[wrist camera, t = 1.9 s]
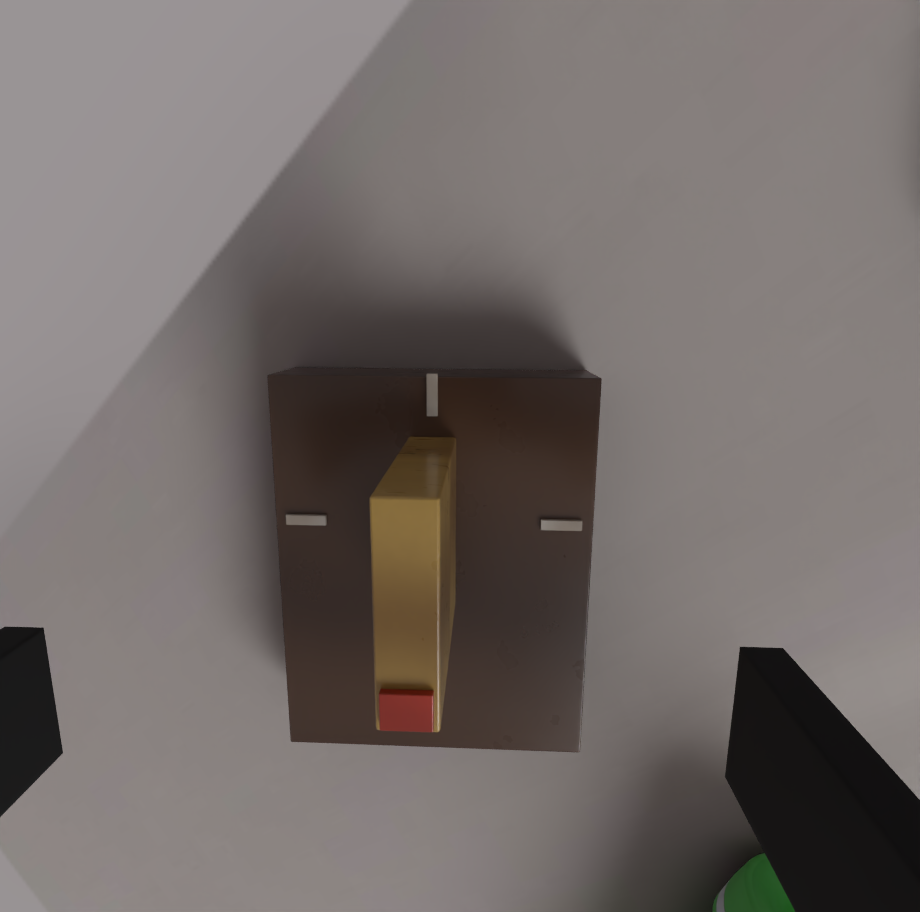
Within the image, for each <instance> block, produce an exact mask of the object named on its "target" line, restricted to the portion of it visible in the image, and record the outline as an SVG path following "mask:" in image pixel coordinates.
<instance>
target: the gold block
mask: <svg viewBox="0 0 920 912" xmlns="http://www.w3.org/2000/svg"><path fill="white" fill-rule="evenodd" d="M369 504H370V539H371V575H372V611H373V646H374V682H375V718H376V729H377V730H381V731H408V732H439V731H440V729H441V721H442V713H443V704H444V696H445V687H446V678H447V670H448V661H449V653H450V644H451V636H452V627H453V618H454V610H455V591H456V438H454V437H409V438H408V440H407V441H406V443H405V444H404V446H403V447H402V449H401V450H400V452H399V453H398V455H397V456H396V458H395V460H394V461H393V463H392V464H391V466H390V467H389V469H388V470H387V472H386V473H385V475H384V476H383V478H382V479H381V481H380V482H379V484H378V485H377V487H376V488H375V490H374V492H373V493H372V495H371V496H370V498H369Z"/></svg>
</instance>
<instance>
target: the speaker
mask: <svg viewBox="0 0 920 912" xmlns="http://www.w3.org/2000/svg"><path fill="white" fill-rule="evenodd" d="M712 912H795V910H794V908H793V906H792V905H791V903H790V901H789V899H788V897H787V895H786V893H785V891H784V889H783V887H782V885H781V883H780V881H779V880H778V878H777V876H776V874H775V872H774V870H773V868H772V866H771V864H770V862H769V860H768V858H767V856H766V855H765V853H763V854H760V855H757V856H755V857H753V858H752V859H750V860H749V861H748V862H747V863H746V864H745V865H744V866H743V867H741V868H740V869H739V870H738V871H737V872H736V873H735V874H734V875H733V876H732V878H731V879H730V880H729V881H728V882H727V883H726V885H725V886H724V887H723V889H722V890H721V891H720V892H719V893H718V894H717V896H716V898H715V900H714V903H713V910H712Z"/></svg>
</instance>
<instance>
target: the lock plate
mask: <svg viewBox="0 0 920 912" xmlns="http://www.w3.org/2000/svg"><path fill="white" fill-rule="evenodd" d="M268 392H269V407H270V423H271V439H272V454H273V470H274V486H275V501H276V517H277V533H278V548H279V564H280V580H281V595H282V611H283V627H284V642H285V658H286V674H287V689H288V705H289V721H290V736H291V742H314V743H341V744H368V745H395V746H422V747H449V748H476V749H503V750H530V751H557V752H580V743H581V725H582V708H583V691H584V674H585V656H586V639H587V622H588V604H589V587H590V570H591V552H592V535H593V518H594V501H595V483H596V466H597V449H598V431H599V414H600V397H601V378H599V377H598V376H596V375H594V374H592V373H590V372H589V371H587V370H514V369H416V368H318V367H295V368H291V369H287V370H284V371H280V372H276V373H272V374H269V375H268ZM409 437H454V438H456V591H455V610H454V618H453V627H452V636H451V644H450V653H449V661H448V670H447V678H446V687H445V696H444V704H443V713H442V721H441V729H440V731H439V732H408V731H381V730H377V729H376V718H375V682H374V646H373V611H372V575H371V539H370V504H369V498H370V496H371V495H372V493H373V492H374V490H375V488H376V487H377V485H378V484H379V482H380V481H381V479H382V478H383V476H384V475H385V473H386V472H387V470H388V469H389V467H390V466H391V464H392V463H393V461H394V460H395V458H396V456H397V455H398V453H399V452H400V450H401V449H402V447H403V446H404V444H405V443H406V441H407V440H408V438H409Z"/></svg>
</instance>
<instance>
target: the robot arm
mask: <svg viewBox="0 0 920 912" xmlns="http://www.w3.org/2000/svg"><path fill="white" fill-rule="evenodd" d="M62 753H63V751H62V744H61V738H60V731H59V725H58V718H57V712H56V705H55V699H54V693H53V686H52V680H51V673H50V667H49V660H48V654H47V647H46V641H45V634H44V628H33V627H4V628H2V629H0V817H1V816H2V815H3V814H4V813H5V812H6V810H7V809H8V808H9V807H10V806H11V805H12V804H13V803H14V802H15V801H16V800H17V799H18V798H19V797H20V796H21V795H22V794H23V793H24V792H25V791H26V790H27V789H28V788H29V787H30V786H31V785H32V784H33V783H34V782H35V781H36V780H37V779H38V778H39V777H40V776H41V775H42V774H43V773H44V772H45V771H46V770H47V769H48V768H49V767H50V766H51V765H52V764H53V763H54V762H55V760H56V759H57V758H58V757H59V756H60V755H61V754H62ZM725 778H726V780H727V782H728V784H729V785H730V787H731V789H732V791H733V793H734V795H735V797H736V799H737V801H738V803H739V805H740V807H741V808H742V810H743V812H744V814H745V816H746V818H747V820H748V822H749V824H750V826H751V828H752V830H753V832H754V833H755V835H756V837H757V839H758V841H759V843H760V845H761V847H762V849H763V851H764V853H765V855H766V856H767V858H768V860H769V862H770V864H771V866H772V868H773V870H774V872H775V874H776V876H777V878H778V880H779V881H780V883H781V885H782V887H783V889H784V891H785V893H786V895H787V897H788V899H789V901H790V903H791V905H792V906H793V908H794V910H795V912H920V800H919V799H918V798H917V796H916V795H915V794H914V793H913V792H912V791H911V790H910V789H909V788H908V786H907V785H906V784H905V783H904V782H903V781H902V780H901V779H900V778H899V776H898V775H897V774H896V773H895V772H894V771H893V770H892V769H891V768H890V766H889V765H888V764H887V763H886V762H885V761H884V760H883V759H882V758H881V756H880V755H879V754H878V753H877V752H876V751H875V750H874V749H873V748H872V747H871V745H870V744H869V743H868V742H867V741H866V740H865V739H864V738H863V737H862V735H861V734H860V733H859V732H858V731H857V730H856V729H855V728H854V727H853V725H852V724H851V723H850V722H849V721H848V720H847V719H846V718H845V717H844V715H843V714H842V713H841V712H840V711H839V710H838V709H837V708H836V707H835V705H834V704H833V703H832V702H831V701H830V700H829V699H828V698H827V697H826V695H825V694H824V693H823V692H822V691H821V690H820V689H819V688H818V687H817V685H816V684H815V683H814V682H813V681H812V680H811V679H810V678H809V677H808V675H807V674H806V673H805V672H804V671H803V670H802V669H801V668H800V667H799V666H798V664H797V663H796V662H795V661H794V660H793V659H792V658H791V657H790V656H789V654H788V653H787V652H786V651H785V650H784V649H783V648H760V647H740V652H739V661H738V670H737V678H736V687H735V695H734V704H733V713H732V721H731V730H730V739H729V747H728V756H727V764H726V773H725Z"/></svg>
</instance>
